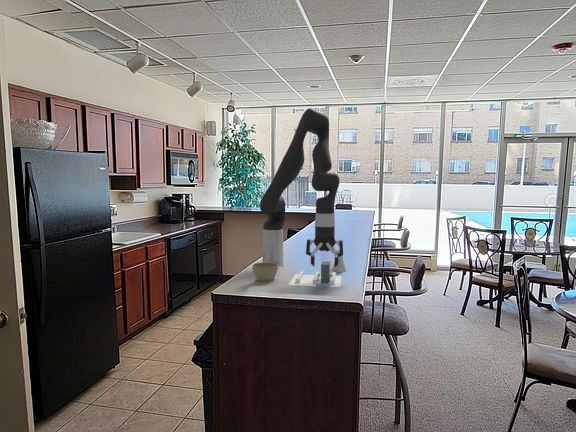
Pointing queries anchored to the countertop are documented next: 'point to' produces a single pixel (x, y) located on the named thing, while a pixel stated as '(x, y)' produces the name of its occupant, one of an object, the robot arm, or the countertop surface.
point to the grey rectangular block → (325, 271)
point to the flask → (339, 264)
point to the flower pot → (265, 271)
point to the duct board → (315, 280)
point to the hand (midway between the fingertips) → (324, 266)
